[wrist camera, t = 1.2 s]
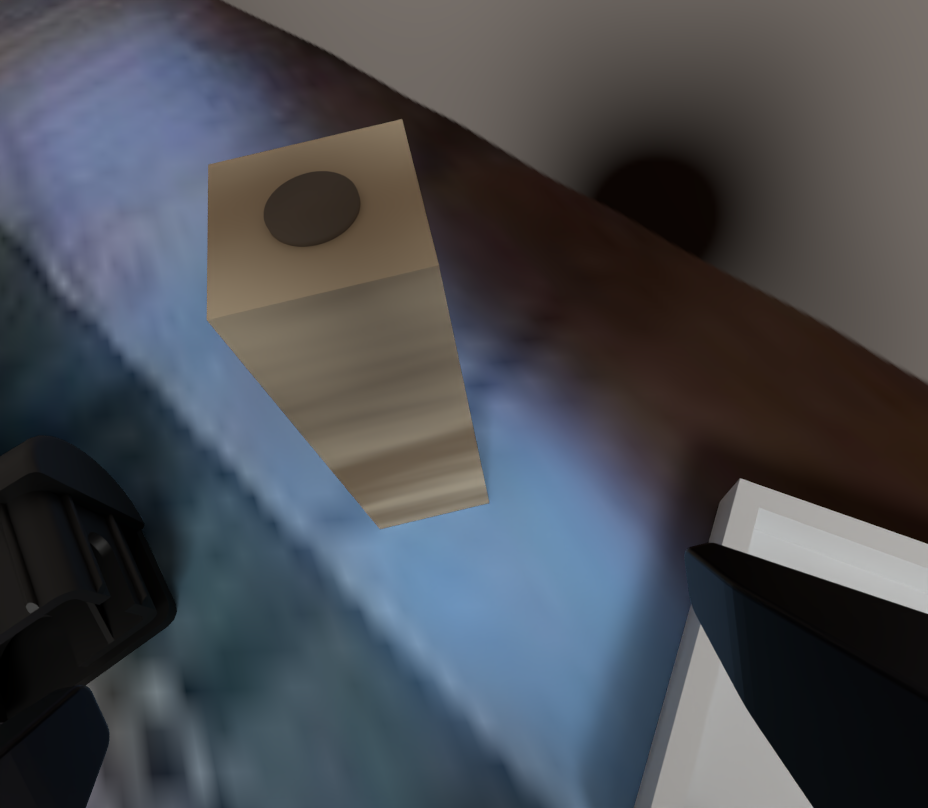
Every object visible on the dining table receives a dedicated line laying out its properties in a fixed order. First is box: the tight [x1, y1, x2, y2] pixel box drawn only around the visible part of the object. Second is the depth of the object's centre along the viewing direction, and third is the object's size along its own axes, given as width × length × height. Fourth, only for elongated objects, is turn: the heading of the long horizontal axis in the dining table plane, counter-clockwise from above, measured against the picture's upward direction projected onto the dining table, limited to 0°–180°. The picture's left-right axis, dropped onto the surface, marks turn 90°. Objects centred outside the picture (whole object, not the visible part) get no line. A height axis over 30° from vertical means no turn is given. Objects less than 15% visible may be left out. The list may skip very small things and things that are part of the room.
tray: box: [634, 478, 928, 808], centre depth 17 cm, size 13×13×2 cm
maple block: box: [207, 119, 489, 529], centre depth 18 cm, size 4×4×14 cm
